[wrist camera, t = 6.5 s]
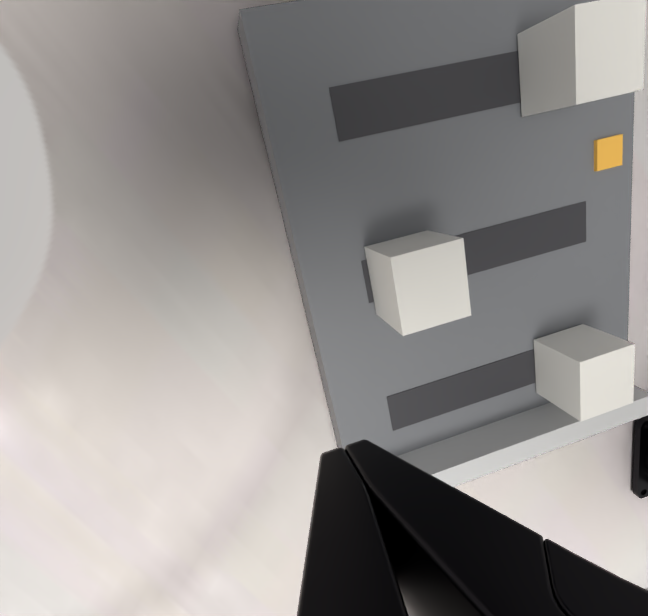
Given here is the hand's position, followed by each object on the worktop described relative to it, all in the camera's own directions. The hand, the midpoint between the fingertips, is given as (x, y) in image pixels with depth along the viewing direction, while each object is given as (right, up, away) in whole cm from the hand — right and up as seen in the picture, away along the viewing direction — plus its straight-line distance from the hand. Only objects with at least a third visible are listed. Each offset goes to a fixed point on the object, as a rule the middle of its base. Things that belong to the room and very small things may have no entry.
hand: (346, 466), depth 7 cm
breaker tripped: (+3, +4, +12) cm, 13 cm away
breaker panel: (+6, +6, +14) cm, 17 cm away
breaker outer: (+9, +13, +11) cm, 19 cm away
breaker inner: (+12, 0, +15) cm, 19 cm away
